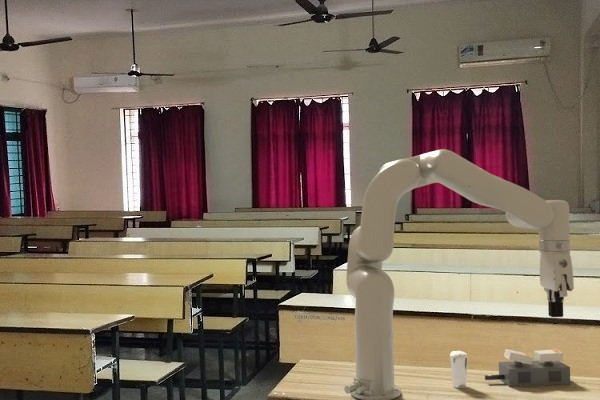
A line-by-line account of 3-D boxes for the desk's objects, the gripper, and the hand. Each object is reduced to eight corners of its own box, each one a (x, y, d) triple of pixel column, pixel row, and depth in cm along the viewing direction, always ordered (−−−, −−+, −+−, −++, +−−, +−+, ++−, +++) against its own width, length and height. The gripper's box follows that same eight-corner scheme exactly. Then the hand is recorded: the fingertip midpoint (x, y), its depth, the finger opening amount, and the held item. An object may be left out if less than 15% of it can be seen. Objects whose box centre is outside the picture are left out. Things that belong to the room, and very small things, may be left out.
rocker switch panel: (490, 387, 153) (490, 367, 153) (481, 379, 161) (480, 359, 161) (570, 384, 154) (570, 364, 154) (557, 376, 161) (557, 356, 161)
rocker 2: (540, 361, 156) (539, 354, 156) (534, 358, 159) (534, 350, 159) (562, 360, 156) (562, 352, 156) (556, 356, 160) (556, 349, 160)
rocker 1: (509, 359, 156) (510, 352, 156) (503, 356, 159) (505, 348, 159) (531, 364, 156) (532, 356, 156) (525, 360, 159) (527, 353, 159)
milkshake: (472, 389, 152) (471, 350, 152) (450, 388, 153) (449, 349, 153) (471, 384, 157) (470, 346, 157) (450, 383, 158) (449, 345, 158)
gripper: (582, 248, 151) (584, 321, 151) (555, 244, 166) (556, 311, 165) (553, 249, 150) (555, 322, 150) (528, 245, 165) (529, 311, 165)
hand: (555, 316), depth 158 cm, fingers closed
